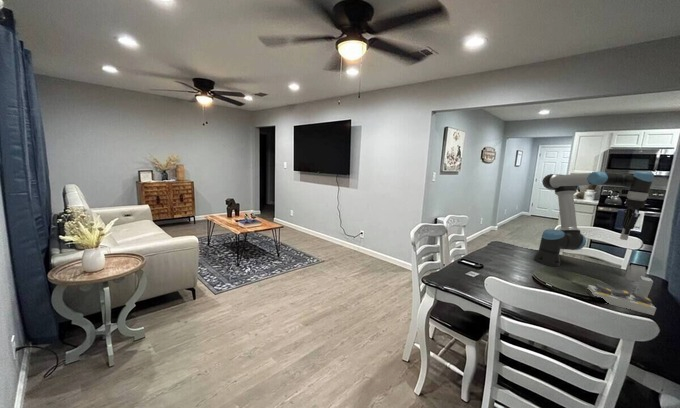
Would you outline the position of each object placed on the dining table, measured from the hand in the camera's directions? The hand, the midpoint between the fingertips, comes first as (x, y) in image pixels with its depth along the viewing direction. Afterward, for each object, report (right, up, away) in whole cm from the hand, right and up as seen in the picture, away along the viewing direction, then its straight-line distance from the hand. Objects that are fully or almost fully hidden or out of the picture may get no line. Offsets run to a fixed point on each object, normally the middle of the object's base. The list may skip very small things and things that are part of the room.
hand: (623, 239), depth 156 cm
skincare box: (+2, -32, -7) cm, 33 cm away
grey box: (+24, -29, +17) cm, 41 cm away
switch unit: (-16, -32, -13) cm, 38 cm away
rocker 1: (-23, -27, -10) cm, 36 cm away
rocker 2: (-16, -28, -14) cm, 35 cm away
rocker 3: (-10, -29, -17) cm, 35 cm away
